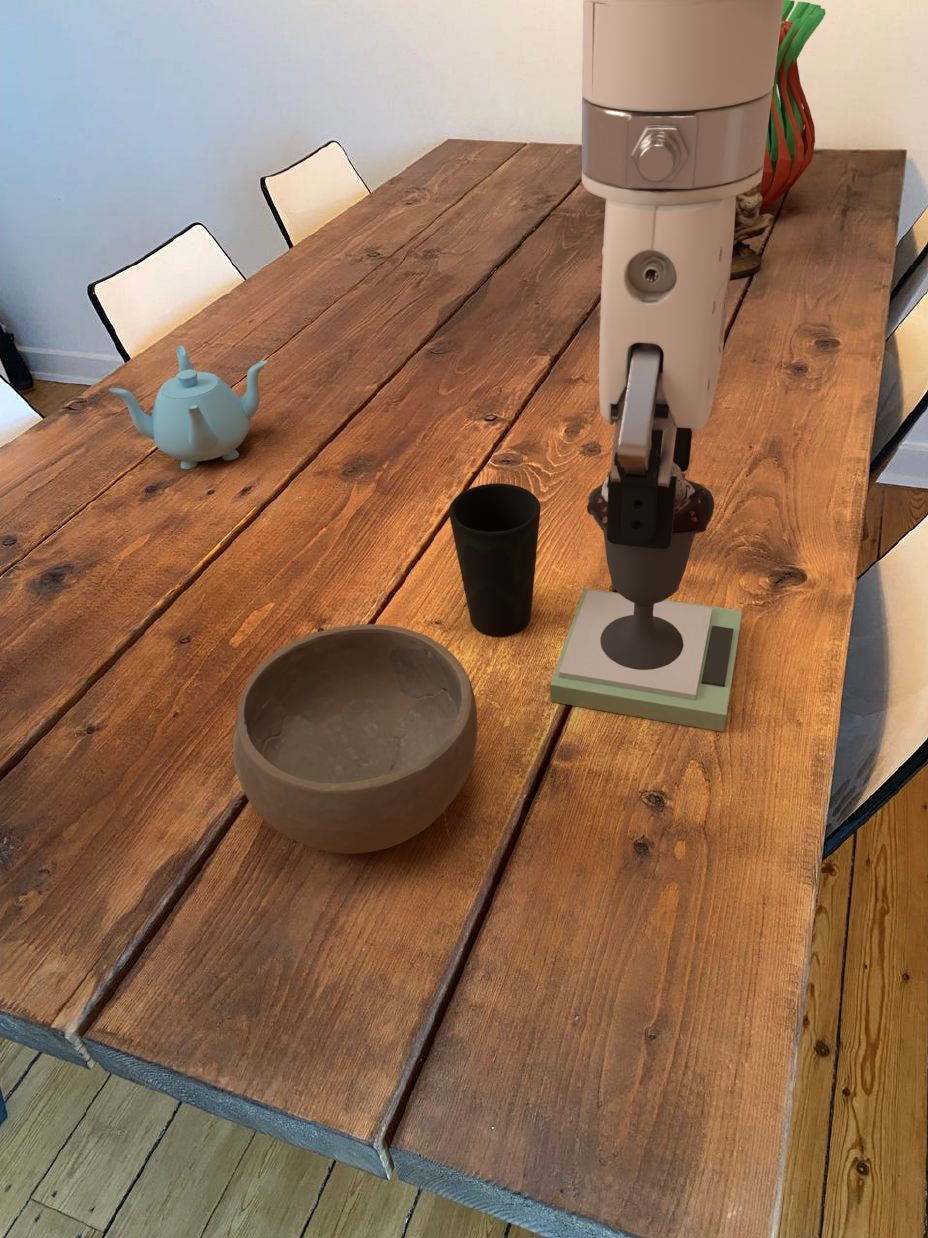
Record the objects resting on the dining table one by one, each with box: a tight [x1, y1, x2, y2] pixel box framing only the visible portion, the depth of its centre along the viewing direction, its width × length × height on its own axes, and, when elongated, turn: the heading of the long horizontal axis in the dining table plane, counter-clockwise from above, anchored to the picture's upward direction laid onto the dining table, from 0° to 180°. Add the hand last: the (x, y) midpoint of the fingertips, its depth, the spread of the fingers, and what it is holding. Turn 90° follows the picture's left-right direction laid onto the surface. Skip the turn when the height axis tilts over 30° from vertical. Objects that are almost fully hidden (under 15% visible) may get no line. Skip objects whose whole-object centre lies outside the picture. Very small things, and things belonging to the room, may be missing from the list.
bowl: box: [232, 623, 478, 855], centre depth 69 cm, size 17×18×10 cm
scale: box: [549, 587, 743, 733], centre depth 80 cm, size 14×13×3 cm
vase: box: [759, 0, 826, 213], centre depth 160 cm, size 30×30×30 cm
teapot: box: [108, 345, 268, 470], centre depth 111 cm, size 13×13×10 cm
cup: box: [448, 482, 541, 638], centre depth 83 cm, size 8×8×12 cm
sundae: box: [586, 454, 715, 670], centre depth 52 cm, size 7×7×15 cm
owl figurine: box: [730, 180, 774, 280], centre depth 143 cm, size 18×12×17 cm, turn 88°
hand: (649, 501), depth 51 cm, fingers closed on sundae, 6 cm apart
